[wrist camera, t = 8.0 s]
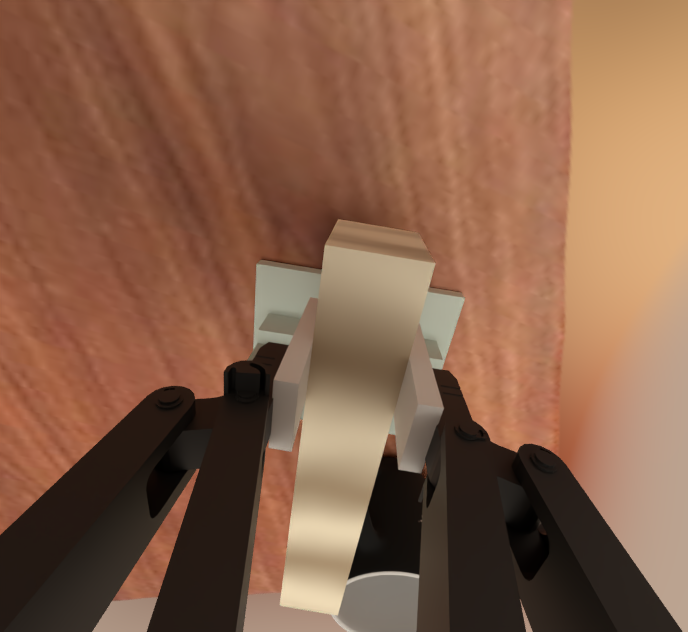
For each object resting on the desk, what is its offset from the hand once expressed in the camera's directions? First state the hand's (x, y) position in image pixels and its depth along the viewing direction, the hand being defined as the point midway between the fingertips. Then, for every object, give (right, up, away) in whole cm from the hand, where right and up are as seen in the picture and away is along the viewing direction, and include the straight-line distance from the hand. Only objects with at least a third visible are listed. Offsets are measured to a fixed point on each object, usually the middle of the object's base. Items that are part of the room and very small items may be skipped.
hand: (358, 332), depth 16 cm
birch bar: (-1, -5, +3) cm, 6 cm away
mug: (+3, -13, +15) cm, 20 cm away
